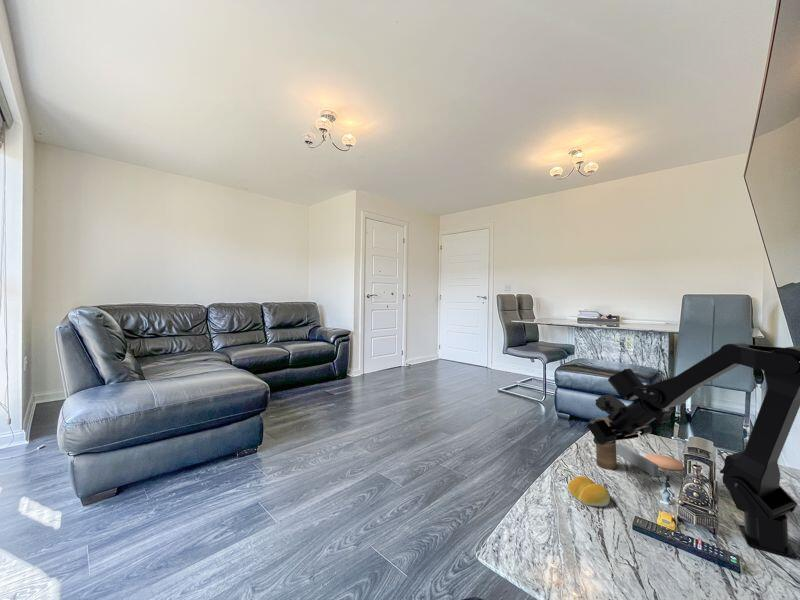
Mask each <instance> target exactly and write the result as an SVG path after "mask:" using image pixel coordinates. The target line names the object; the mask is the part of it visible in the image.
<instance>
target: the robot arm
mask: <svg viewBox="0 0 800 600" xmlns="http://www.w3.org/2000/svg"><path fill="white" fill-rule="evenodd" d="M799 361H800V345H795V346H794V345H793V346H786V347H780V346H768V345H759V344H757V345H755V344H751V343H750V344H748V343H745V342H734V343H726V344H724V345H722V346H721V347H720V348H719V349H718V350H716V351H714V352H713V353H712V354H709V355H708V356H706V357H705V358H703V359H702V360H700V361H699V362H696V363H695V364H693V365H692V366H690V367H689V368H687V369H685V370H684V371H682V372H681V373H679V374H678V375H675V376H673V377H670V378H666V379H663V380H661V381H657V382H654V383H652V384H644V383H643V382H642V381H641V380H640V379H639V378H638V376H637V375H636V374H635V373H634V370H632V368H624V369H623V370H622V371H619V372H617V373H615V374H613V375H611V376H610V377H609V378H608V380H607V382H608V383H609V385H611V386H612V388H613V389H614V390H615V392H616V393H617V394H618V395H619V397H620V398H621V399H622V400H626V399H627V400H628V401H632V402H631V403H630V404H628V405H625V403H624V402H622V401H621V400H620V399H619V398H617V397H616V395H615V396H614V395H612V394H605V395H600V396H599V397H597V398H596V399H595V407H597V408H598V409H599V410H600V411H602V412H605V413H607V414H608V415H607V417H606V418H608V419H609V420H612V422H609V425H610V426H608V425H607V423H606V422H605V421H604V420H603V419H592V420H589V421H588V422H587V423H586V427H587V428H588V429H589V431H590V432H591V434H592V436H593V437H594V438H593V440H592V441H593V443H594V444H595V445H596V444H601V445H605V444H611V443H615V438H616V441H623V440H630V439H631V440H632V439H636V438H639V436H641V437H643V436H648V435H650V434H651V433H652V432H653V426H652V425H651V424H650V423H652V422H653V421H654V420H656V421H658V423H659V424H663V423H669V422H671V416H670V411H669V410H666V409H667V408H672V407H677V406H678V407H679V406H682V405H683V404H685V402H686V401H688V400H689V399H690V398H691V397H692V396H693V395H694V392H696V390H697V389H699V388H700V387H703V386H704V385H706V384H708V383H710V382H711V381H712V382H713V380H714V379H717V378H719V377H721V376H722V375H724V374H726V373H728V372H730V371H731V370H733V369H735V368H737V367H739V366H740V365H741V366H744V367H748V368H752V369H754V370H760V371H764V374H763V376H764V380H765V385H766V391H765V395H764V398H763V400H762V403H761V405H760V408H759V411H758V413H757V416H756V418H755V421H754V424H753V426H752V430H751V432H750V434H749V437H748V440H747V443H746V445H745V447H744V450H742V451H738V452H735V453H732V454H729V455H726V456H725V459H724V465H723V468H722V469H721V470H719V473H720V474H723V475H722V478H721V479H722V484H723V485H724V486H725V488H726V489H727V491H728V492H729V494H730V496H731V499H732V501H733V503H734V505H735V508H736V509H737V510H740V511H741V512H743V521H744V522H743V523H744V525H741V524H739V525H738V529H739V531H740V533H741V536H742V537H743V539H744V541H745V543H746V544H747V545H748V546H749V547H752V548H756V549H759V550H763V551H766V552H769V553H770V552H771V553H773V554H777V555H781V556H784V557H788V556H789V558H792V557H793V558H792V559H798V554H797V552H795V550H794V548H793V546H791V544H790V543H789V532H788V531H789V529H788V516H787V514H789V513H794V511H795V509H797V506H798V503H797V501H795V499H794V498H792V496H791V495H790V494H789V493H788V492H787V491H786V490H784V489H783V487H782V486H781V485H780V480H781V472H780V471H781V470H780V467H779V463H778V462H779V461H778V460H779V459H780V455H781V453H782V451H783V449H784V446H785V443H786V441H787V439H788V436H789V434H790V432H791V429H792V427H793V425H794V422H795V420H796V417H797V414H798V412H799V409H800V363H799ZM639 430H640V431H641V432H640V433H639ZM612 431H613V432H612Z"/></svg>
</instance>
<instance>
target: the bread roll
mask: <svg viewBox="0 0 800 600" xmlns="http://www.w3.org/2000/svg"><path fill="white" fill-rule="evenodd" d="M567 489H568V491H569V493H570V495H571V496H572V497H573V498H575V499H576V500H579V501H580V502H581V503H582V504H584V505H586V506H590V507H598V508H599V507H606V506H608V504H610V502H611V501H610V499H611V496H610V492H609V491H608V489H607V488H606V487H605V486H603V485H601V484H599V483H596V482H595V481H594V480H592V479H591V478H589V477H587V476H583V475H581V476H575V477H574V478H572V479H571V480H569V482H568V483H567Z"/></svg>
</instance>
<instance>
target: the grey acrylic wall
mask: <svg viewBox="0 0 800 600" xmlns="http://www.w3.org/2000/svg"><path fill="white" fill-rule="evenodd" d="M616 455H618V456H619V457H622V458H623V459H625V460H626V461H628V462H629V463H631V464H633V465H634V466H636V467H638V468H639V469H641V470H643V471H644V472H646V473H648V474H649V475H651V476H653V477H654V478H655V477H657V478H658V477H659V467H658V465H657V464H655V463H653V462H651V461H650V460H648V459H646V458H645V456H643V455H641V454H640V453H637V452H636V451H633V450H632V449H630V448H628V447H626V446H625V445H623V444H621V443H616Z"/></svg>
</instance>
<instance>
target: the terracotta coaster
mask: <svg viewBox="0 0 800 600" xmlns="http://www.w3.org/2000/svg"><path fill="white" fill-rule="evenodd" d="M644 458H646V459H648V460H650V461H651V462H653V463H655V464H657V465H658V469H663V470H666V471H667V470H668V471H676V472H677V471H682V470H684V469H683V464H684V462H682V461H681V460H679V459H676V458H674V457H670V456H667V455H663V454H662V455H661V454H647V455H646V456H644Z"/></svg>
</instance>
